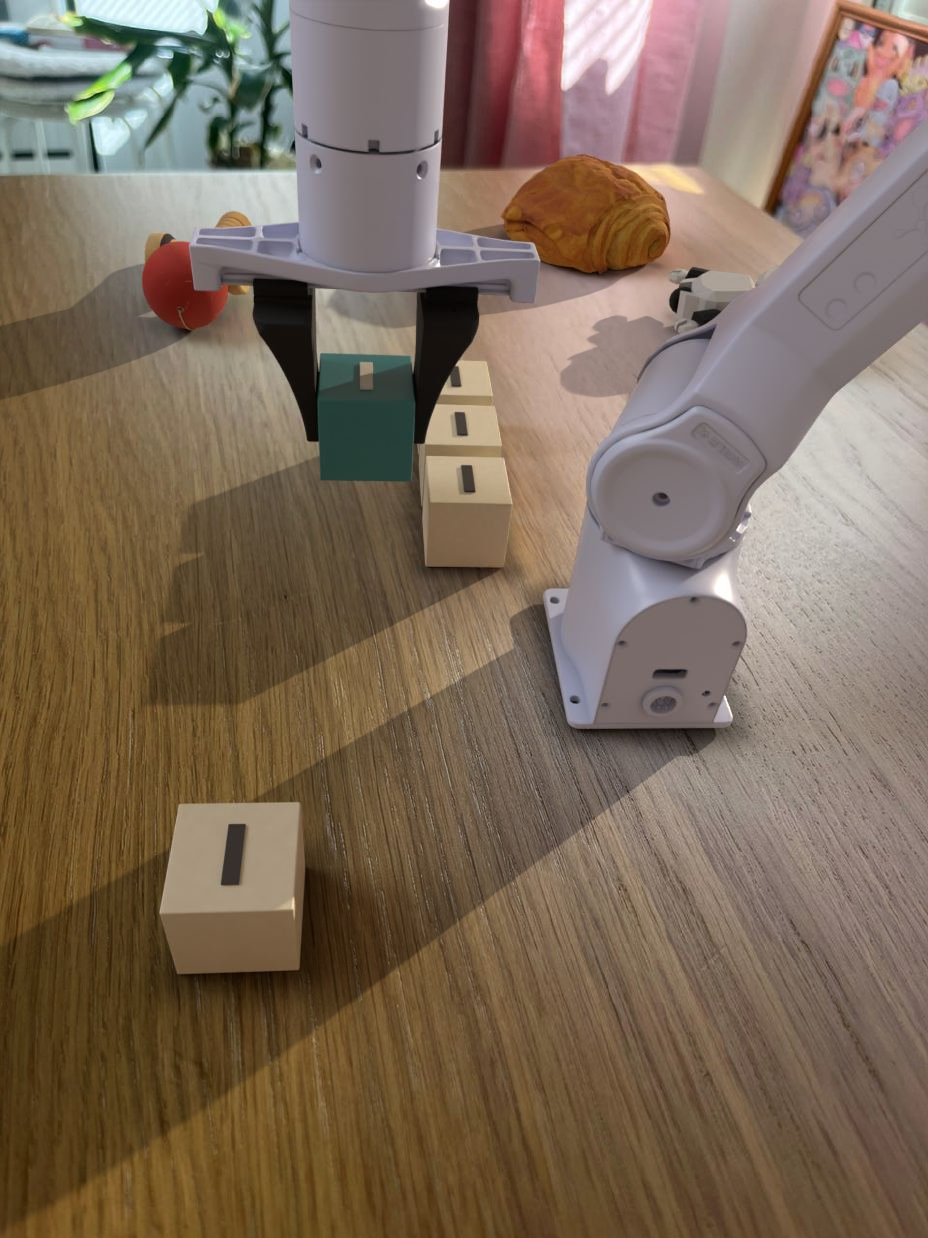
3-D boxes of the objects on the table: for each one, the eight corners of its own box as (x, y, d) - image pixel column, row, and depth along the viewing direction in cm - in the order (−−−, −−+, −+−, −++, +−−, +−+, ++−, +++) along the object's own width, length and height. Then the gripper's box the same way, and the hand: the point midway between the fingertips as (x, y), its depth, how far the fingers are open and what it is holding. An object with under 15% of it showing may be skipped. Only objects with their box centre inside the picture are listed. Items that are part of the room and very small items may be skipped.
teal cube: (411, 482, 45) (415, 400, 42) (320, 480, 45) (317, 397, 41) (408, 432, 48) (411, 353, 45) (322, 431, 48) (319, 350, 45)
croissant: (581, 227, 95) (588, 140, 91) (694, 262, 85) (709, 167, 81) (467, 246, 88) (469, 154, 84) (575, 287, 78) (584, 185, 74)
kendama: (184, 257, 81) (113, 322, 66) (191, 181, 77) (118, 232, 63) (272, 282, 82) (221, 352, 67) (283, 208, 78) (232, 264, 64)
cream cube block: (486, 456, 60) (493, 394, 57) (418, 455, 59) (421, 392, 56) (480, 420, 63) (486, 359, 60) (415, 418, 62) (418, 357, 59)
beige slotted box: (299, 971, 34) (293, 908, 31) (176, 975, 34) (158, 912, 31) (305, 865, 37) (300, 799, 34) (193, 868, 37) (178, 801, 34)
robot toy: (667, 368, 72) (866, 379, 71) (676, 312, 69) (884, 323, 68) (660, 300, 81) (837, 309, 80) (668, 248, 78) (852, 257, 77)
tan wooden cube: (494, 508, 56) (502, 444, 53) (421, 507, 55) (425, 442, 52) (487, 466, 59) (495, 404, 56) (418, 465, 58) (421, 401, 55)
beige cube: (503, 568, 52) (513, 502, 49) (425, 567, 51) (429, 501, 48) (496, 519, 55) (504, 455, 52) (422, 518, 54) (425, 453, 51)
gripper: (537, 111, 40) (504, 393, 49) (190, 89, 38) (223, 385, 47) (564, 167, 35) (521, 469, 44) (165, 145, 33) (207, 464, 42)
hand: (366, 431), depth 45 cm, fingers closed on teal cube, 4 cm apart
